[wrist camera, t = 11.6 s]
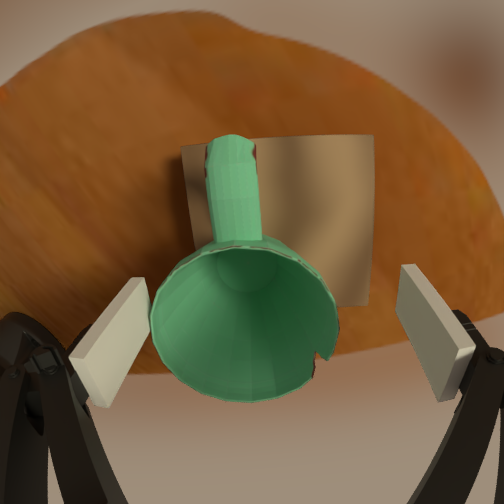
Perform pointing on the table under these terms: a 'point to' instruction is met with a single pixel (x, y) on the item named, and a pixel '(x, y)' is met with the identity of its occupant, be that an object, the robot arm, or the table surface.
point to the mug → (242, 297)
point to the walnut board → (307, 204)
